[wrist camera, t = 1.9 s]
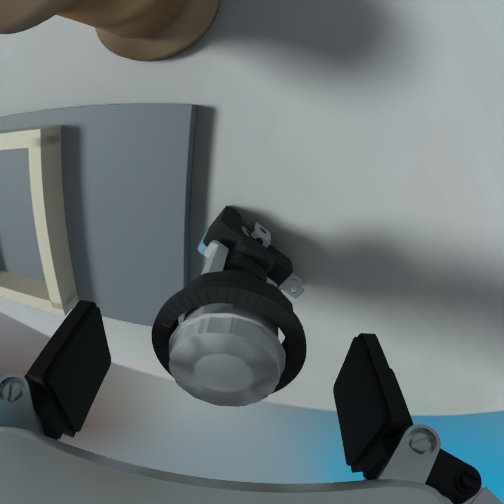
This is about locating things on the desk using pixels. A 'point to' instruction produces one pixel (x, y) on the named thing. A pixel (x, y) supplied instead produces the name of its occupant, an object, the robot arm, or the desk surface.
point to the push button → (233, 319)
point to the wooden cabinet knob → (122, 22)
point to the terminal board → (96, 207)
